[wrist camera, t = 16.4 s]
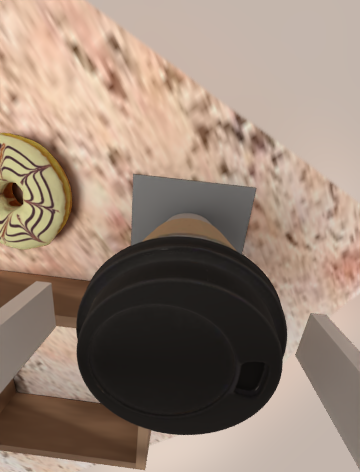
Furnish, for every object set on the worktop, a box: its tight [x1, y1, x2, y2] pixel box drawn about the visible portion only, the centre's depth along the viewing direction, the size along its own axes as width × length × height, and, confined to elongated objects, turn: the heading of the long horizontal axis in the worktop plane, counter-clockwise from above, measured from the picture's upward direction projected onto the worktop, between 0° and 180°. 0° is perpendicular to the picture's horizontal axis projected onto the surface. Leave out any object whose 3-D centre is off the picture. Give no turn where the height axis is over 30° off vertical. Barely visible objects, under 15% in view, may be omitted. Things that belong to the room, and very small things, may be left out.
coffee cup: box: [76, 213, 287, 435], centre depth 15 cm, size 9×9×15 cm
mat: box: [131, 174, 256, 254], centre depth 22 cm, size 12×12×1 cm
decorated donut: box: [0, 133, 72, 250], centre depth 20 cm, size 10×11×4 cm
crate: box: [0, 270, 151, 470], centre depth 26 cm, size 22×22×6 cm
